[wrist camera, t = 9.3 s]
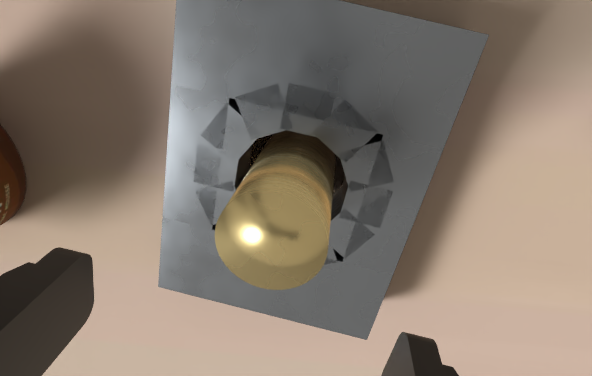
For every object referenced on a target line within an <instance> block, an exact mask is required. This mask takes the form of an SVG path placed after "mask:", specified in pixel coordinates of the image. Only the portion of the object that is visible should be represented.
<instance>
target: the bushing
mask: <svg viewBox="0 0 592 376" xmlns="http://www.w3.org/2000/svg"><path fill="white" fill-rule="evenodd" d="M334 175H335V156H334V153H333V151H332V150H330V149H329V148H328V147H327V146H326V145H325V144H324V143H323V142H322V141H321V140H320V139H319V138H317V137H313V136H309V135H305V134H301V133H297V132H292V131H288V130H285V131H282V132H278V133H276V134H275V135H273V136H272V137H271V138H270V139H269V141H268V142H267V143H266V145H265V147H264V148H263V150H262V151H261V153H260V154H259V156H258V157H257V159H256V160H255V162H254V163H253V165H252V167H251V168H250V170H249V171H248V173H247V174H246V176H245V177H244V179H243V180H242V182H241V184H240V185H239V187H238V188H237V190H236V191H235V193H234V194H233V196H232V197H231V199H230V200H229V202H228V204H227V205H226V207H225V208H224V210H223V211H222V213H221V215H220V216H219V218H218V221H217V223H216V228H215V244H216V248H217V251H218V253H219V256H220V257H221V259H222V261H223V262H224V264H225V265H226V267H227V268H228V269H229V270H230V271H231V272H232V273H233V274H235V275H236V276H237V277H238V278H240V279H241V280H243V281H245V282H247V283H249V284H251V285H253V286H256V287H260V288H264V289H270V290H285V289H291V288H295V287H298V286H300V285H303V284H305V283H307V282H308V281H310V280H311V279H312V278H313V277H315V276H316V275H317V274H318V272H319V271H320V270H321V268H322V267H323V265H324V263H325V260H326V258H327V253H328V244H329V233H330V221H331V210H332V198H333V187H334Z"/></svg>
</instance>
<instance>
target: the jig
mask: <svg viewBox="0 0 592 376" xmlns="http://www.w3.org/2000/svg"><path fill="white" fill-rule="evenodd" d="M488 36H489V35H488V34H483V33H479V32H475V31H470V30H466V29H462V28H457V27H453V26H449V25H444V24H440V23H436V22H431V21H427V20H423V19H418V18H414V17H410V16H405V15H401V14H397V13H392V12H388V11H384V10H379V9H375V8H371V7H366V6H362V5H358V4H353V3H349V2H345V1H340V0H177V1H176V16H175V32H174V48H173V63H172V79H171V95H170V111H169V126H168V142H167V158H166V173H165V189H164V205H163V220H162V236H161V252H160V268H159V283H158V287H161V288H165V289H169V290H173V291H177V292H181V293H185V294H188V295H192V296H196V297H200V298H204V299H208V300H212V301H216V302H220V303H224V304H228V305H232V306H236V307H240V308H243V309H247V310H251V311H255V312H259V313H263V314H267V315H271V316H275V317H279V318H283V319H287V320H291V321H295V322H298V323H302V324H306V325H310V326H314V327H318V328H322V329H326V330H330V331H334V332H338V333H342V334H346V335H350V336H353V337H357V338H361V339H365V340H367V338H368V336H369V333H370V331H371V328H372V326H373V323H374V321H375V318H376V316H377V313H378V311H379V308H380V306H381V303H382V301H383V298H384V296H385V293H386V291H387V288H388V286H389V284H390V281H391V279H392V276H393V274H394V271H395V269H396V266H397V264H398V261H399V259H400V256H401V254H402V251H403V249H404V246H405V244H406V241H407V239H408V236H409V234H410V231H411V229H412V226H413V224H414V221H415V219H416V216H417V214H418V211H419V209H420V206H421V204H422V201H423V199H424V196H425V194H426V191H427V189H428V186H429V184H430V181H431V179H432V176H433V174H434V171H435V169H436V166H437V164H438V161H439V159H440V156H441V154H442V151H443V149H444V146H445V144H446V141H447V139H448V136H449V134H450V131H451V129H452V126H453V124H454V121H455V119H456V116H457V114H458V111H459V109H460V106H461V104H462V101H463V99H464V96H465V94H466V91H467V89H468V86H469V84H470V81H471V79H472V76H473V74H474V71H475V69H476V66H477V64H478V61H479V59H480V56H481V54H482V51H483V49H484V46H485V44H486V41H487V39H488ZM285 130H288V131H292V132H297V133H301V134H305V135H309V136H313V137H317V138H319V139H320V140H321V141H322V142H323V143H324V144H325V145H326V146H327V147H328V148H329V149H330V150H332V151H333V152H334V153H335V154H336V155H337V156H338V157H339V158H340V159H341V163H342V166H343V170H344V173H345V177H344V180H343V184H342V187H341V188H340V189H339V190H337V191H336V192H335V193H334V194H333V198H332V210H331V221H330V233H329V244H328V253H327V258H326V260H325V263H324V265H323V267H322V268H321V270H320V271H319V272H318V274H317V275H316V276H315V277H313V278H312V279H311V280H310V281H308V282H307V283H305V284H303V285H300V286H298V287H295V288H291V289H285V290H270V289H264V288H260V287H256V286H253V285H251V284H249V283H247V282H245V281H243V280H241V279H240V278H238V277H237V276H236V275H235V274H233V273H232V272H231V271H230V270H229V269H228V268H227V267H226V265H225V264H224V262H223V261H222V259H221V257H220V256H219V253H218V251H217V248H216V244H215V228H216V223H217V221H218V218H219V216H220V215H221V213H222V211H223V210H224V208H225V207H226V205H227V204H228V202H229V200H230V199H231V197H232V196H233V194H234V193H235V191H236V190H237V188H238V187H239V185H240V184H241V182H242V180H243V179H244V177H245V176H246V174H247V173H248V171H249V170H250V168H251V167H250V165H249V163H250V157H251V151H252V145H253V143H254V142H255V141H256V139H257V138H261V137H264V136H268V135H271V134H275V133H278V132H282V131H285Z"/></svg>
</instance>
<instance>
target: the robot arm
mask: <svg viewBox="0 0 592 376" xmlns="http://www.w3.org/2000/svg"><path fill="white" fill-rule="evenodd" d="M93 304H94V287H93V264H92V258H91V256H90V255H89V254H85V253H81V252H77V251H73V250H68V249H64V248H55V249H53V250H52V251H50V252H49V253H48V254H47V255H46V256H44V257H43V258H42V259H41V260H39V261H38V262H37V263H36V264H33V263H29V262H28V263H26V264H24V265H22V266H19V267H17V268H15V269H13V270H10V271H8V272H6V273H4V274H2V275H1V276H0V376H42V375H43V373H44V372H45V371H46V370H47V369H48V367H49V366H50V365H51V364H52V363H53V361H54V360H55V359H56V358H57V357H58V355H59V354H60V353H61V352H62V351H63V349H64V348H65V347H66V346H67V345H68V343H69V342H70V341H71V340H72V338H73V337H74V336H75V335H76V334H77V332H78V331H79V330H80V329H81V328H82V326H83V325H84V324H85V322H86V321H87V319H88V317H89V315H90V313H91V311H92V308H93ZM382 376H459V375H458V374H457V372H456V371H455V369H454V368H453V367H450V366H446V365H442V362H441V359H440V355H439V352H438V348H437V345H436V343H435V341H434V340H433V339H430V338H426V337H421V336H417V335H413V334H409V333H405V332H402V333H401V334H400V335H399V337H398V339H397V342H396V344H395V346H394V348H393V350H392V353H391V355H390V357H389V359H388V361H387V364H386V366H385V368H384V370H383V373H382Z"/></svg>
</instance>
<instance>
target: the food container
mask: <svg viewBox="0 0 592 376" xmlns="http://www.w3.org/2000/svg"><path fill="white" fill-rule="evenodd" d="M25 194H26V176H25V170H24V166H23V163H22V160H21V157H20V155H19V153H18V151H17V149H16V147H15V145H14V143H13V141H12V140H11V138H10V137H9V135H8V134H7V132H6V131H5V130H4V129H3V127H2V126H1V125H0V225H2V224H3V223H5V222H6V221H7V220H9V219H10V218H12V217H13V216H14V215H15V213H16V212H17V211H18V210H19V209H20V207H21V206H22V203H23V201H24V199H25Z"/></svg>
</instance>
